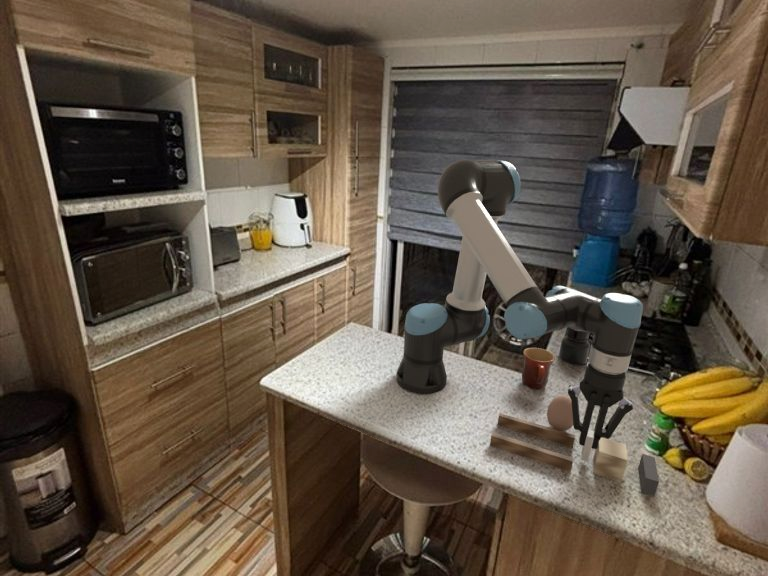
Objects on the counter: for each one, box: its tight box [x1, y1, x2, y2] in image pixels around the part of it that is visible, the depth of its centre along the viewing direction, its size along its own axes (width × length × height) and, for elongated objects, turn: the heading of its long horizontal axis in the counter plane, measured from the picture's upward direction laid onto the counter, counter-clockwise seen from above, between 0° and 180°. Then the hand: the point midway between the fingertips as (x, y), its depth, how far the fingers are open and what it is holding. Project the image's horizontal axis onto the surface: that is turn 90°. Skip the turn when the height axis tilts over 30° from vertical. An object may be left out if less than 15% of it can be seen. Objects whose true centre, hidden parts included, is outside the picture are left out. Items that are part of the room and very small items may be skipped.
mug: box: [521, 347, 555, 391], centre depth 123 cm, size 12×9×10 cm
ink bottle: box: [558, 326, 591, 366], centre depth 141 cm, size 10×9×12 cm
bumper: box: [637, 453, 660, 498], centre depth 90 cm, size 2×8×4 cm, turn 154°
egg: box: [546, 395, 574, 432], centre depth 105 cm, size 7×7×10 cm
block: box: [592, 437, 628, 483], centre depth 93 cm, size 6×6×6 cm
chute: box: [489, 412, 576, 473], centre depth 100 cm, size 18×10×3 cm, turn 64°
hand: (584, 457), depth 95 cm, fingers closed
